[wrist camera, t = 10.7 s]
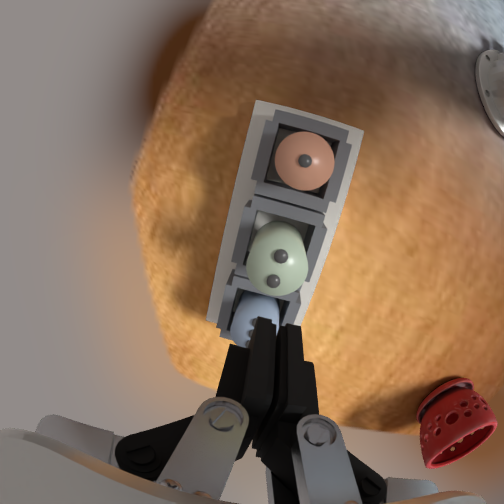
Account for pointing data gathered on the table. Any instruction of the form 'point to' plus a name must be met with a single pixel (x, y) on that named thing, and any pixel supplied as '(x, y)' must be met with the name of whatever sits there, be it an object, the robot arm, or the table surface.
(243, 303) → the button three pip
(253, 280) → the button two pip
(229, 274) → the button board
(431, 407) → the plant pot
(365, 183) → the table surface
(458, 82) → the table surface
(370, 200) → the table surface
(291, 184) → the button one pip
